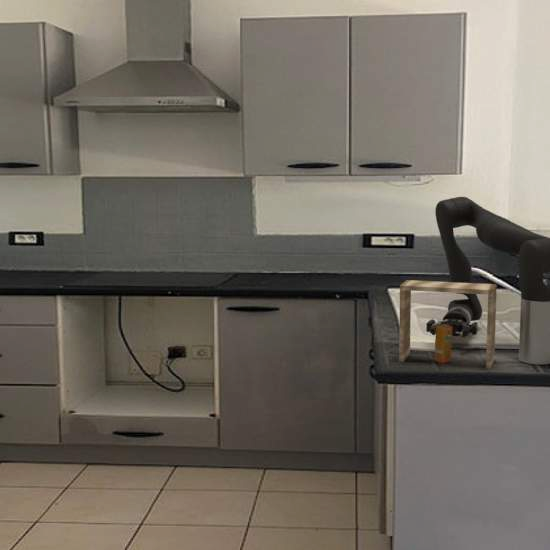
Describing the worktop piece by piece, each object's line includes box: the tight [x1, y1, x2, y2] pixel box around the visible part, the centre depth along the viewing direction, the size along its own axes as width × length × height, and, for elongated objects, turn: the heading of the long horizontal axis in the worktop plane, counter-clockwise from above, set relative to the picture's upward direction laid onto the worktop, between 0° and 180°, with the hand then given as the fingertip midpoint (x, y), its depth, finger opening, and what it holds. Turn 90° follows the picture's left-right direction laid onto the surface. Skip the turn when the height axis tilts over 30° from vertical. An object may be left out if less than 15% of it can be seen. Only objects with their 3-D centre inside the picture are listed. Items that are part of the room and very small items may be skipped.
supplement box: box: [434, 324, 453, 364], centre depth 227 cm, size 3×4×10 cm
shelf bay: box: [398, 279, 498, 370], centre depth 225 cm, size 24×9×21 cm, turn 70°
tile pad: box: [410, 342, 435, 353], centre depth 244 cm, size 11×11×1 cm
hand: (448, 332), depth 234 cm, fingers open, 8 cm apart
